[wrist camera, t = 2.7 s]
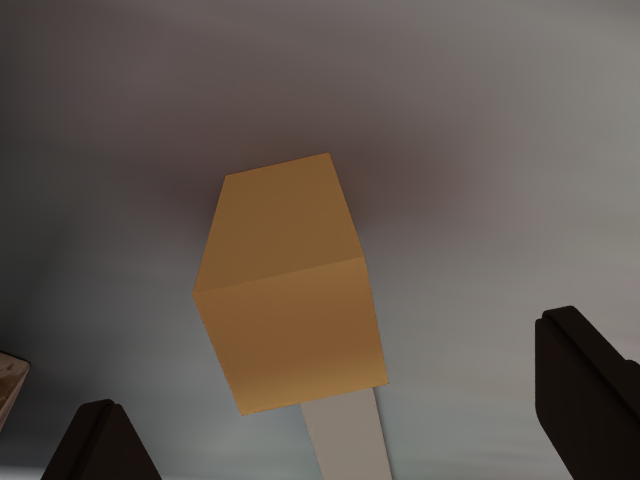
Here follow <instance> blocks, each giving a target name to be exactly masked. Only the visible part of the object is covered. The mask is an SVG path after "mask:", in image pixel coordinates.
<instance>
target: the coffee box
mask: <svg viewBox="0 0 640 480" xmlns="http://www.w3.org/2000/svg"><path fill="white" fill-rule="evenodd" d="M29 368H30V364H29V363H28V362H26V361H22V360H20V359H17V358H15V357H12V356H9V355H6V354H3V353H1V352H0V431H1V429H2V427H3V425H4V423H5V421H6V418H7V416H8V414H9V412H10V410H11V408H12V406H13V404H14V402H15V399H16V397H17V395H18V393H19V391H20V388H21V386H22V384H23V382H24V380H25V377H26V375H27V373H28V371H29Z"/></svg>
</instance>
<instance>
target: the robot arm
mask: <svg viewBox="0 0 640 480" xmlns="http://www.w3.org/2000/svg"><path fill="white" fill-rule="evenodd" d="M535 408H536V414H537V417H538V420H539V422H540V424H541V426H542V427H543V429H544V431H545V432H546V434H547V436H548V437H549V439H550V441H551V442H552V444H553V446H554V447H555V449H556V451H557V452H558V454H559V456H560V457H561V459H562V461H563V462H564V464H565V466H566V467H567V469H568V471H569V472H570V474H571V476H572V477H573V479H574V480H640V365H639V364H638V363H637V362H635V361H633V360H625V359H624V358H623V357H622V356H621V355H620V354H619V353H618V352H617V351H616V350H615V348H614V347H613V346H612V345H611V344H610V343H609V342H608V341H607V340H606V339H605V338H604V337H603V336H602V335H601V334H600V333H599V332H598V331H597V330H596V329H595V327H594V326H593V325H592V324H591V323H590V322H589V321H588V320H587V319H586V318H585V317H584V316H583V315H582V314H581V313H580V312H579V311H578V310H577V309H576V308H575V307H574V306H566V307H561V308H556V309H551V310H546V311H544V312H543V314H542V318H541V319H537V320H536V322H535ZM41 480H162V478H161V477H160V475H159V473H158V471H157V469H156V468H155V466H154V464H153V462H152V460H151V458H150V457H149V455H148V453H147V451H146V449H145V447H144V446H143V444H142V442H141V440H140V438H139V436H138V435H137V433H136V431H135V429H134V427H133V425H132V424H131V422H130V420H129V418H128V416H127V414H126V413H125V411H124V409H123V407H122V406H121V405H120V404H115V403H114V402H113V401H112V400H111V399H105V400H100V401H95V402H90V403H85V404H83V405H81V406H80V407H79V409H78V410H77V412H76V414H75V416H74V418H73V420H72V422H71V423H70V425H69V427H68V429H67V431H66V433H65V435H64V437H63V438H62V440H61V442H60V444H59V446H58V448H57V450H56V452H55V453H54V455H53V457H52V459H51V461H50V463H49V465H48V466H47V468H46V470H45V472H44V474H43V476H42V478H41Z"/></svg>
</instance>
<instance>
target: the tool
mask: <svg viewBox="0 0 640 480" xmlns="http://www.w3.org/2000/svg"><path fill="white" fill-rule="evenodd" d="M192 296H193V298H194V301H195V303H196V306H197V308H198V310H199V313H200V315H201V318H202V320H203V323H204V325H205V328H206V330H207V332H208V335H209V337H210V340H211V342H212V345H213V347H214V350H215V352H216V354H217V357H218V359H219V362H220V364H221V367H222V369H223V371H224V374H225V376H226V379H227V381H228V384H229V386H230V389H231V391H232V393H233V396H234V398H235V401H236V403H237V406H238V408H239V410H240V413H241V415H242V416H243V415H247V414H252V413H257V412H261V411H266V410H270V409H275V408H280V407H284V406H289V405H294V404H298V403H299V405H300V408H301V411H302V414H303V417H304V420H305V423H306V426H307V430H308V433H309V436H310V439H311V442H312V445H313V448H314V451H315V454H316V458H317V461H318V464H319V467H320V470H321V473H322V476H323V479H324V480H392V477H391V472H390V467H389V462H388V458H387V453H386V448H385V443H384V439H383V434H382V429H381V424H380V420H379V415H378V410H377V406H376V401H375V396H374V391H373V387H377V386H381V385H386V384H388V378H387V373H386V368H385V362H384V357H383V352H382V347H381V341H380V336H379V331H378V325H377V320H376V315H375V309H374V304H373V299H372V293H371V288H370V283H369V277H368V272H367V267H366V262H365V256H364V253H363V250H362V247H361V245H360V242H359V239H358V236H357V233H356V230H355V227H354V224H353V221H352V218H351V215H350V212H349V209H348V206H347V204H346V201H345V198H344V195H343V192H342V189H341V186H340V183H339V180H338V177H337V174H336V171H335V168H334V165H333V163H332V160H331V157H330V154H329V152H327V153H322V154H318V155H313V156H309V157H305V158H300V159H296V160H292V161H287V162H283V163H278V164H274V165H270V166H265V167H261V168H257V169H252V170H248V171H243V172H239V173H235V174H230V175H226V176H225V179H224V183H223V186H222V190H221V194H220V197H219V201H218V204H217V208H216V211H215V215H214V218H213V222H212V226H211V229H210V233H209V236H208V240H207V243H206V247H205V250H204V254H203V258H202V261H201V265H200V268H199V272H198V275H197V279H196V282H195V286H194V289H193V293H192Z"/></svg>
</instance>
